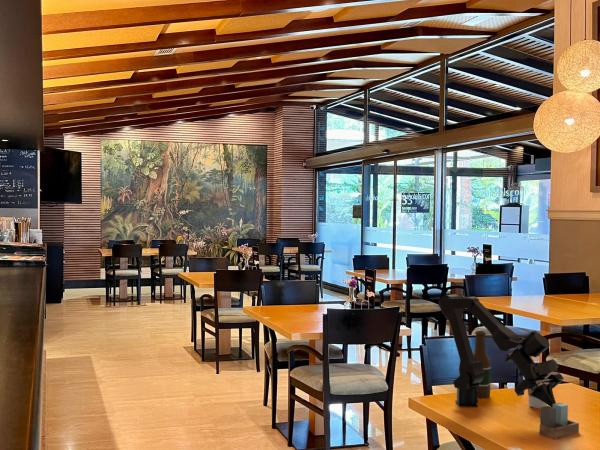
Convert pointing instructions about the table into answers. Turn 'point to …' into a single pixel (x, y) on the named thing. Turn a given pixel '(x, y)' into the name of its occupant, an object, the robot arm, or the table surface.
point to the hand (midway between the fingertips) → (555, 407)
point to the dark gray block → (548, 416)
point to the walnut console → (560, 430)
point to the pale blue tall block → (561, 413)
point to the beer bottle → (482, 356)
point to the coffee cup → (534, 401)
